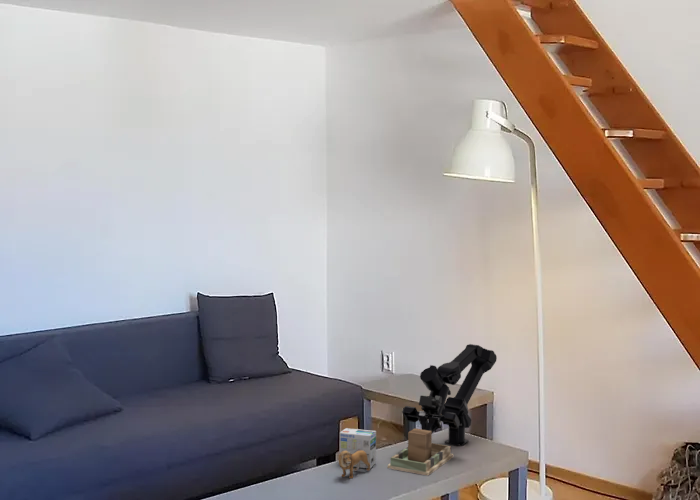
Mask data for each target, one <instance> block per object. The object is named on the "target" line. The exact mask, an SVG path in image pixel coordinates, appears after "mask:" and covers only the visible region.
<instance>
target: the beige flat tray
mask: <svg viewBox="0 0 700 500" xmlns="http://www.w3.org/2000/svg"><path fill="white" fill-rule="evenodd" d="M451 448H452V446H451V445H445V444H440V443H433V442H432V443H431V458H430V459H428V460H427V461H425V462H418V461H412V460H408V446H407V447H405V448H404V449H403V450H401V451H399V452H398V453H396V454H394V455H393V456H391V457H390V460H389V461H390V462H389V463H388V464H387V469H389V468H390V469H391V470H395V471H400V472H407V473H412V474H417V475H423V476H428V477H429V476H430V475H432V474H433V473H435V471H437V470H438V469H439V468H441V467H442V466H443V465H445V464H446V463H448V462H449V461H451V459H453V458H454V453H451V452H452V449H451Z"/></svg>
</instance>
